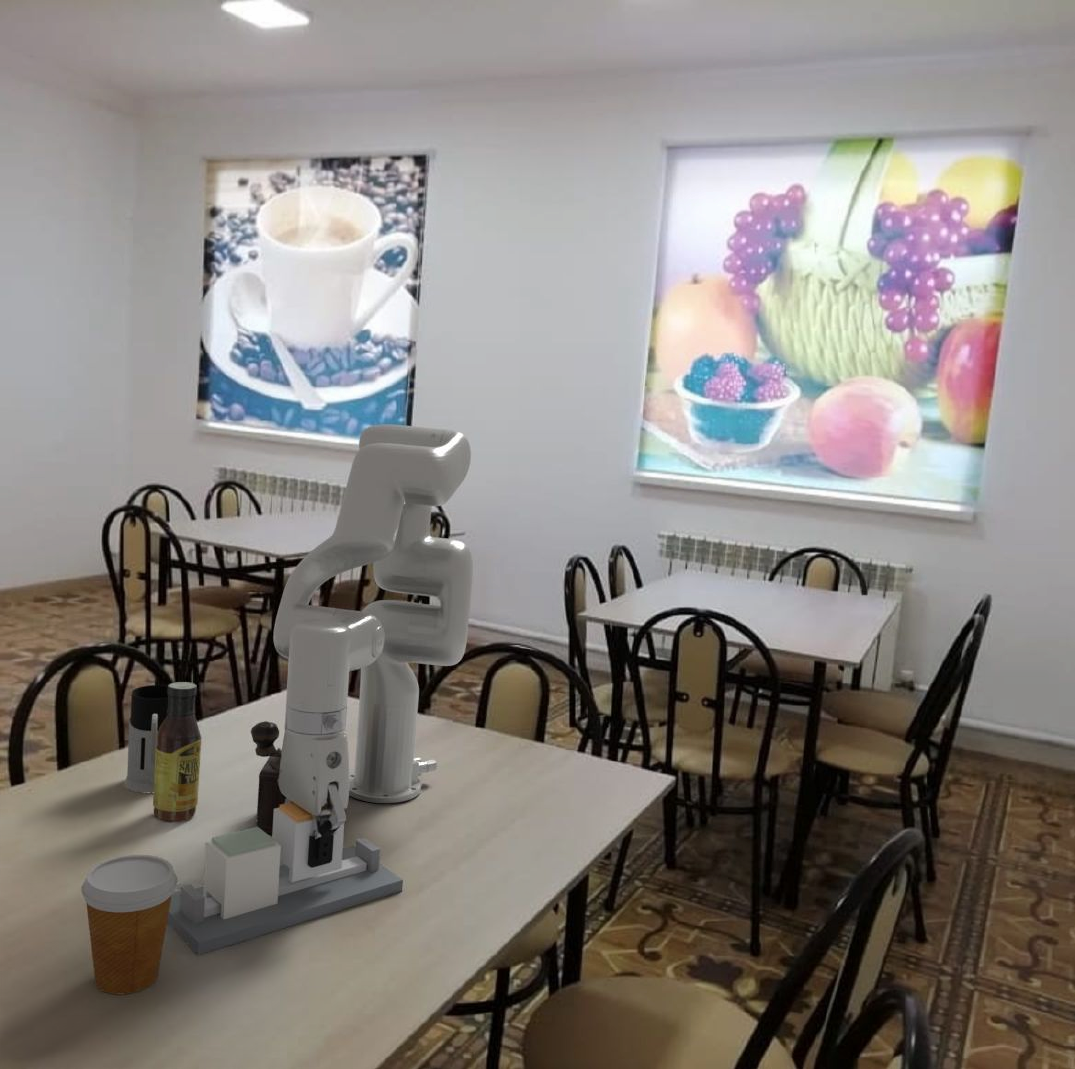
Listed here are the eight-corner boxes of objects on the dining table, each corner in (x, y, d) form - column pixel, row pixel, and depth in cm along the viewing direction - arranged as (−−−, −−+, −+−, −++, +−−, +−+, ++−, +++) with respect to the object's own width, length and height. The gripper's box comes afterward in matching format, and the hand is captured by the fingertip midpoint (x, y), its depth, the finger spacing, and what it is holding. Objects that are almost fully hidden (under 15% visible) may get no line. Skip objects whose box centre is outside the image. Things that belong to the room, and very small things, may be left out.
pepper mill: (265, 806, 156) (271, 693, 154) (337, 811, 157) (344, 698, 154) (240, 850, 141) (247, 726, 138) (320, 855, 141) (328, 731, 139)
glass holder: (182, 771, 167) (186, 683, 165) (181, 806, 153) (185, 710, 151) (125, 773, 164) (129, 683, 162) (119, 808, 150) (122, 711, 149)
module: (318, 852, 134) (322, 793, 133) (341, 868, 130) (345, 808, 129) (270, 865, 129) (274, 804, 128) (292, 882, 125) (296, 819, 124)
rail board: (353, 855, 142) (357, 790, 141) (402, 890, 133) (407, 821, 132) (155, 910, 123) (158, 835, 122) (198, 955, 114) (201, 875, 113)
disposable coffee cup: (96, 952, 113) (99, 851, 112) (183, 955, 114) (188, 854, 112) (64, 1002, 104) (67, 892, 102) (159, 1005, 105) (164, 896, 103)
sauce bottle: (182, 827, 146) (188, 694, 144) (143, 820, 147) (148, 688, 145) (206, 810, 153) (212, 683, 150) (168, 803, 154) (173, 677, 151)
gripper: (378, 733, 123) (368, 874, 126) (307, 696, 136) (299, 825, 138) (325, 743, 118) (315, 889, 121) (256, 704, 131) (248, 837, 133)
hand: (307, 853), depth 129 cm, fingers closed on module, 5 cm apart
